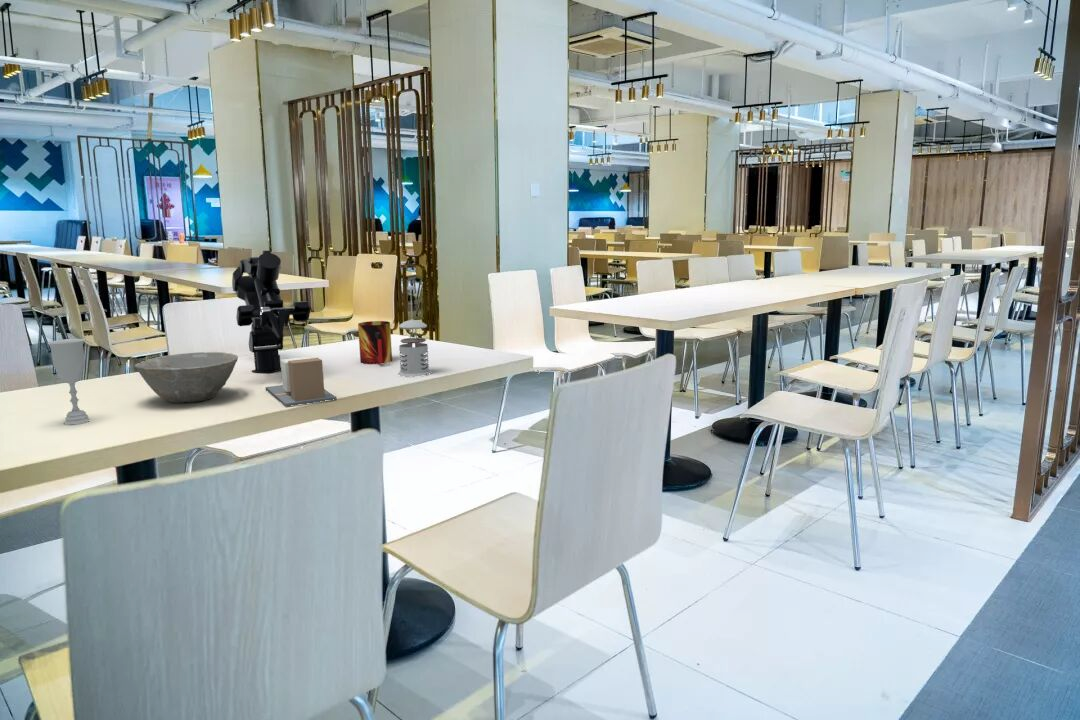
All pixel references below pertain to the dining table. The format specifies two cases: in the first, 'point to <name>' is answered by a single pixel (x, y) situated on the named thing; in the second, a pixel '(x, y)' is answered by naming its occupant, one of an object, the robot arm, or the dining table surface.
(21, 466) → the dining table surface
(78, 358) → the chalice
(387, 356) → the mug
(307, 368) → the rod stand
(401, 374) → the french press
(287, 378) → the sleeve
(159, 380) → the ceramic bowl
